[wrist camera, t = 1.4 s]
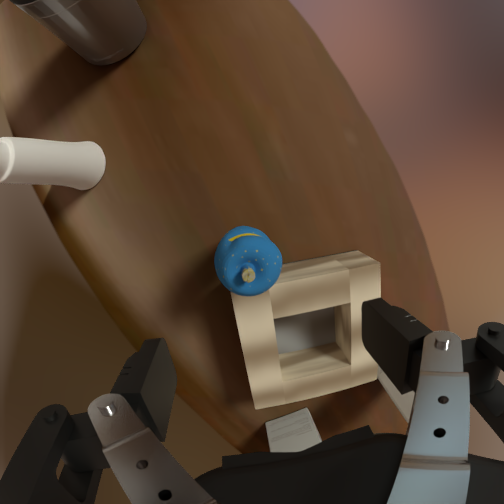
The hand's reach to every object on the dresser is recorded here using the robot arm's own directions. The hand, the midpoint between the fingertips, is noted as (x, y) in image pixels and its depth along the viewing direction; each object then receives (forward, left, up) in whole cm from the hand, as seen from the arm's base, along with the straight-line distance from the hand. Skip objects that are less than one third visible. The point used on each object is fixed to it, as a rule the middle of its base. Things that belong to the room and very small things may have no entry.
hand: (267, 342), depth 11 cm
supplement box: (+32, +3, -24) cm, 40 cm away
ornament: (0, 0, -24) cm, 24 cm away
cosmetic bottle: (-12, -17, -24) cm, 32 cm away
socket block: (+12, +6, -24) cm, 27 cm away
